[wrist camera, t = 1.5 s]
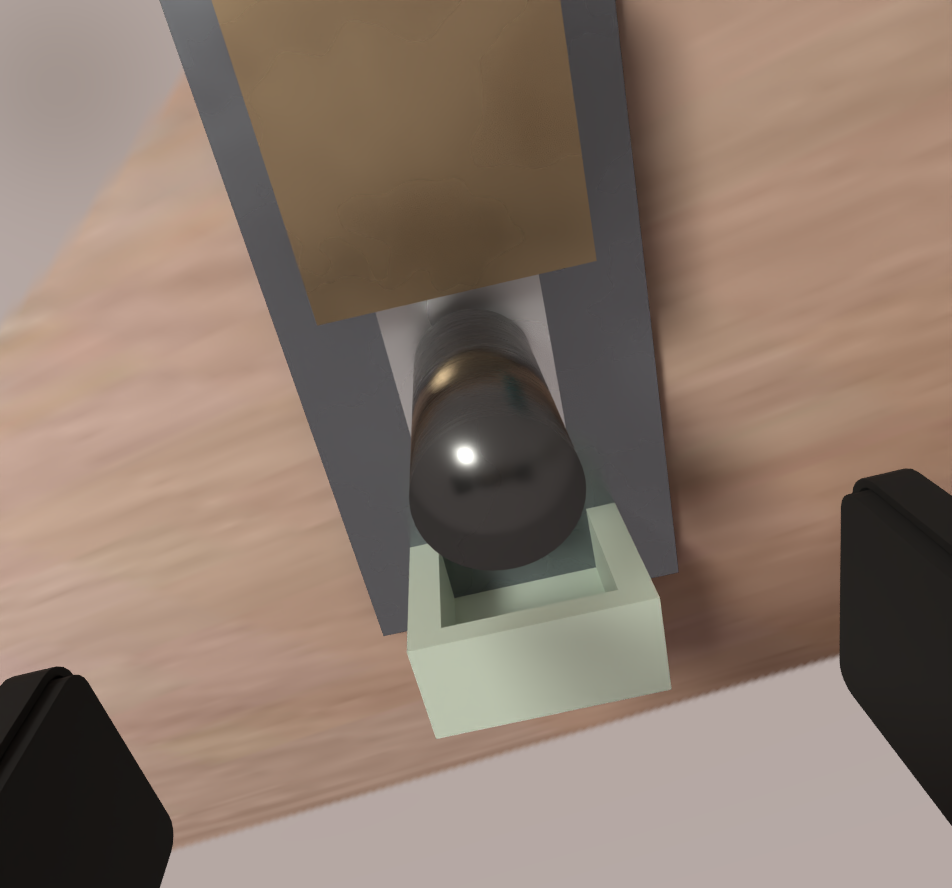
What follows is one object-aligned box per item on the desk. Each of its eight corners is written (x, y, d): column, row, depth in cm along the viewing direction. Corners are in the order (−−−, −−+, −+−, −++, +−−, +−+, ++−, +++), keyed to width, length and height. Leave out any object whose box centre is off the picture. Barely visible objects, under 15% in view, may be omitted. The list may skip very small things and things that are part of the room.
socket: (614, 502, 25) (659, 597, 20) (626, 583, 26) (671, 689, 21) (409, 547, 25) (406, 652, 20) (433, 625, 26) (436, 738, 22)
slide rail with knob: (591, -160, 17) (660, -267, 12) (673, 562, 27) (731, 671, 21) (149, -48, 18) (38, -108, 12) (384, 625, 27) (375, 746, 22)
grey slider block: (460, -99, 17) (504, -333, 8) (557, 430, 23) (645, 649, 14) (287, -56, 17) (129, -235, 8) (429, 459, 23) (433, 694, 14)
